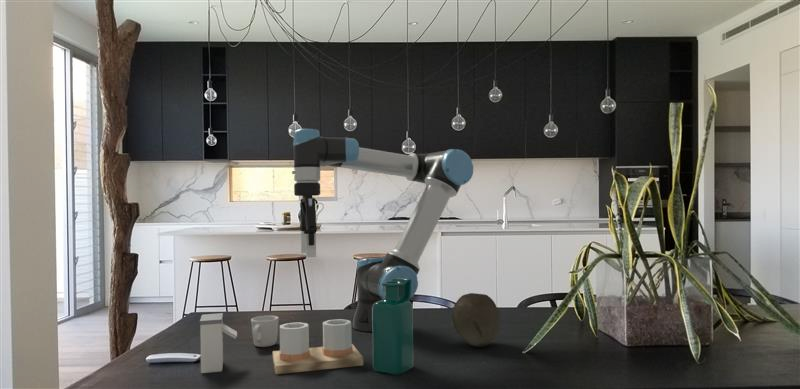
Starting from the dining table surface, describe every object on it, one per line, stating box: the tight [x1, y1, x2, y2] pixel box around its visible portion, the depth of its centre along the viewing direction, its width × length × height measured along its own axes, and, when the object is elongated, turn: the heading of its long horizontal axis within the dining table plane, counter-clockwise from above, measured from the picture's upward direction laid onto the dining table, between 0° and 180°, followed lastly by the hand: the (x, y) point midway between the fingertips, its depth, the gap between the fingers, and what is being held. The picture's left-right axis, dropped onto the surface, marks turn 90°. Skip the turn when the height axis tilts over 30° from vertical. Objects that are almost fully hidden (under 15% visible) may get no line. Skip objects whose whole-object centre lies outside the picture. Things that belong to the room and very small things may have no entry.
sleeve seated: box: [321, 318, 353, 357], centre depth 146 cm, size 8×8×8 cm
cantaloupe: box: [451, 292, 501, 348], centre depth 158 cm, size 14×14×15 cm
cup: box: [250, 315, 280, 348], centre depth 161 cm, size 11×8×8 cm
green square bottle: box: [371, 278, 414, 376], centre depth 138 cm, size 10×8×22 cm
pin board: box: [272, 343, 364, 375], centre depth 145 cm, size 22×14×9 cm, turn 106°
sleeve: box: [278, 321, 310, 361], centre depth 143 cm, size 8×8×8 cm
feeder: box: [199, 312, 238, 374], centre depth 142 cm, size 9×8×13 cm
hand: (308, 255), depth 160 cm, fingers open, 13 cm apart
